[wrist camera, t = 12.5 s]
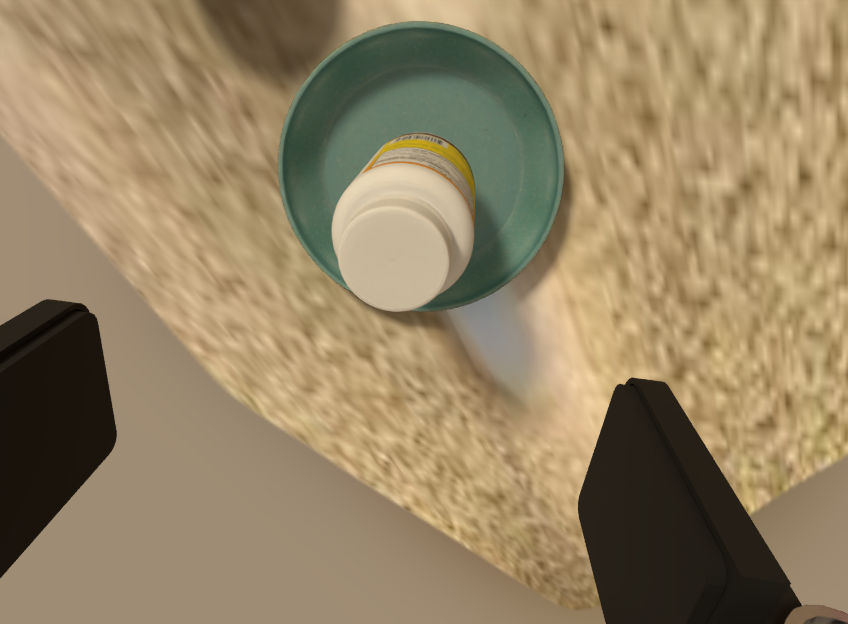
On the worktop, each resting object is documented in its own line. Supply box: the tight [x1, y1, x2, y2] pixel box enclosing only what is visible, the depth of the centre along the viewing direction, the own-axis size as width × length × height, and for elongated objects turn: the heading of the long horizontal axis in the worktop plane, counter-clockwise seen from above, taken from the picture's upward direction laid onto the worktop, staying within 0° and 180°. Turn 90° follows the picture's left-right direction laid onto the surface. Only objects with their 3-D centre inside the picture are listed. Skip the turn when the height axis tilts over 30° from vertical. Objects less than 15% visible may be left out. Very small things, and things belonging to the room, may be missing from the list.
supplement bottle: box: [332, 132, 475, 312], centre depth 23 cm, size 6×6×10 cm
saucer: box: [278, 21, 564, 312], centre depth 29 cm, size 15×15×3 cm
